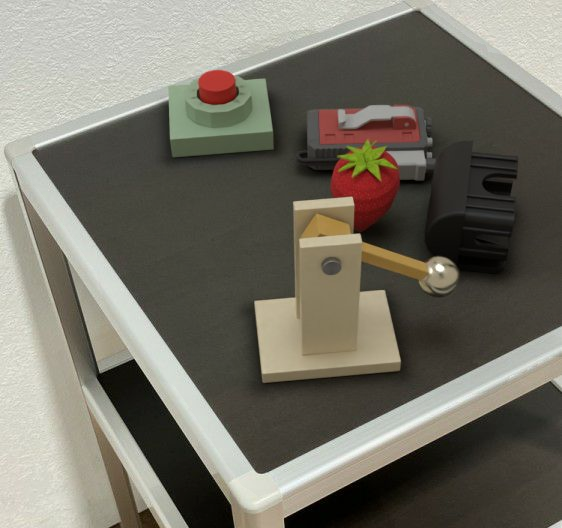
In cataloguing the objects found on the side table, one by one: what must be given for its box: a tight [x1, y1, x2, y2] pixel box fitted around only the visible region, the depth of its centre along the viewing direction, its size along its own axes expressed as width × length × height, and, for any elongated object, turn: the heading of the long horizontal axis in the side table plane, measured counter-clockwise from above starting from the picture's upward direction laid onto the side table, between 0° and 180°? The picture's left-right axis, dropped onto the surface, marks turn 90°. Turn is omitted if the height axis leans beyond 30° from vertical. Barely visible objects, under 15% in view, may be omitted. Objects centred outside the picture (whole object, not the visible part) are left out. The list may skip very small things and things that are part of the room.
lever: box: [301, 213, 461, 298], centre depth 73 cm, size 13×3×3 cm, turn 96°
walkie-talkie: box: [295, 104, 437, 182], centre depth 93 cm, size 9×4×20 cm
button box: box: [167, 75, 275, 158], centre depth 96 cm, size 10×9×4 cm
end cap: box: [423, 139, 519, 274], centre depth 84 cm, size 10×7×7 cm
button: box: [198, 69, 236, 105], centre depth 95 cm, size 4×4×2 cm
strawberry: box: [329, 139, 401, 233], centre depth 84 cm, size 6×8×10 cm
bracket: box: [254, 197, 402, 384], centre depth 74 cm, size 11×8×13 cm
